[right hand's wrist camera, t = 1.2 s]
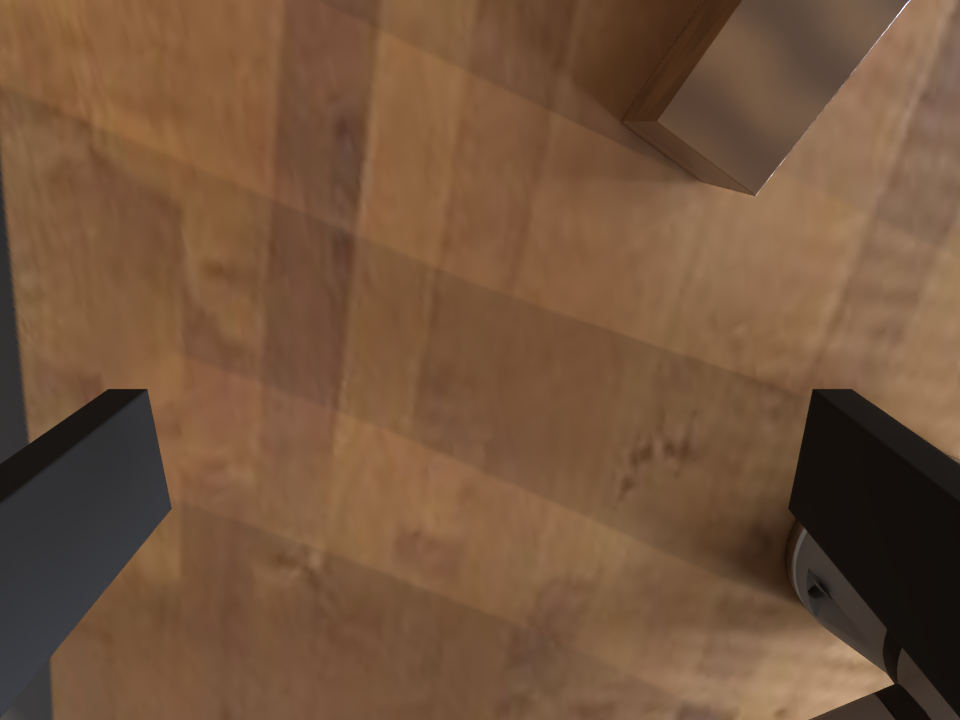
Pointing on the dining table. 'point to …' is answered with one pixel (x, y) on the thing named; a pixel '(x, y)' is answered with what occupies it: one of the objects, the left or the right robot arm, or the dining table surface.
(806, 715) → the dining table surface
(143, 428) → the right robot arm
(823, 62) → the post
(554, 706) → the dining table surface
